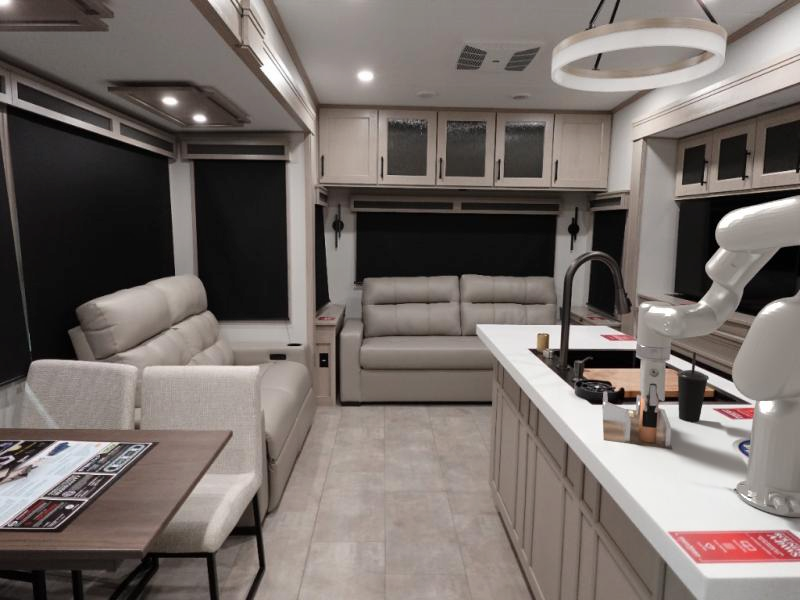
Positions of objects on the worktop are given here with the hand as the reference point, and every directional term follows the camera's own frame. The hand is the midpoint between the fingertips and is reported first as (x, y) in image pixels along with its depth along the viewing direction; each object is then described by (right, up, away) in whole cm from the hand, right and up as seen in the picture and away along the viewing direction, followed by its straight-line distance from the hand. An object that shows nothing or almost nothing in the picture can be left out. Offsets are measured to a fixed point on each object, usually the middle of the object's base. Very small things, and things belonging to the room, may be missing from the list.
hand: (648, 422), depth 129 cm
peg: (0, -4, +1) cm, 4 cm away
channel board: (+1, -4, +10) cm, 11 cm away
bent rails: (+1, -4, +10) cm, 11 cm away
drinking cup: (+19, -4, +15) cm, 24 cm away
